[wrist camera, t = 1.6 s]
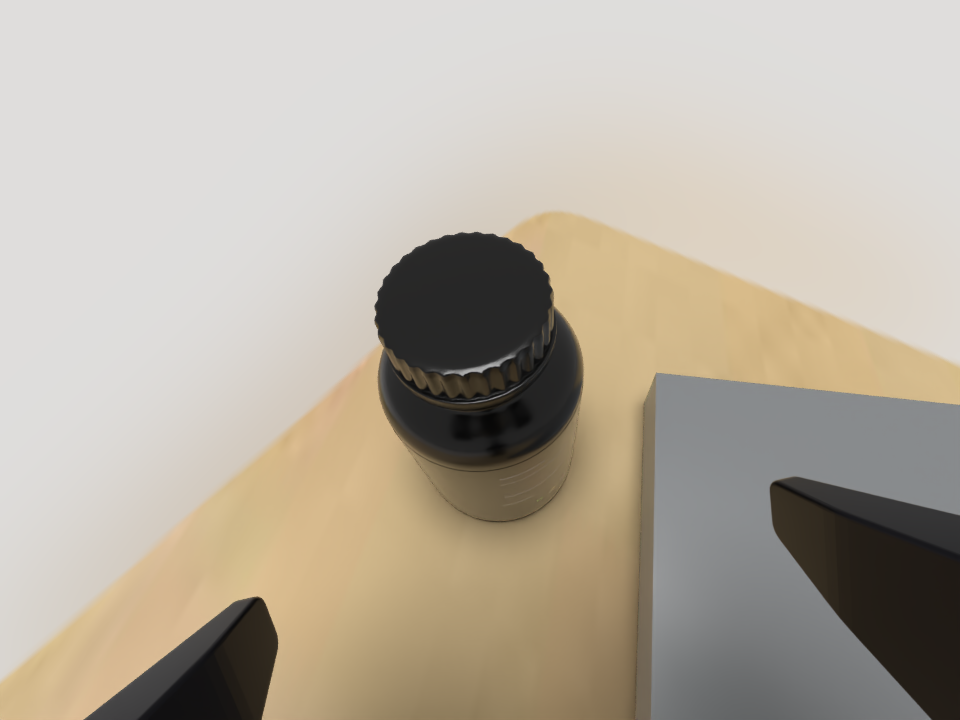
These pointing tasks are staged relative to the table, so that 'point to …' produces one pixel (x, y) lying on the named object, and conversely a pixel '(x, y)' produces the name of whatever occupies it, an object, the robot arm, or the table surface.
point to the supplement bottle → (480, 373)
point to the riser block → (766, 546)
